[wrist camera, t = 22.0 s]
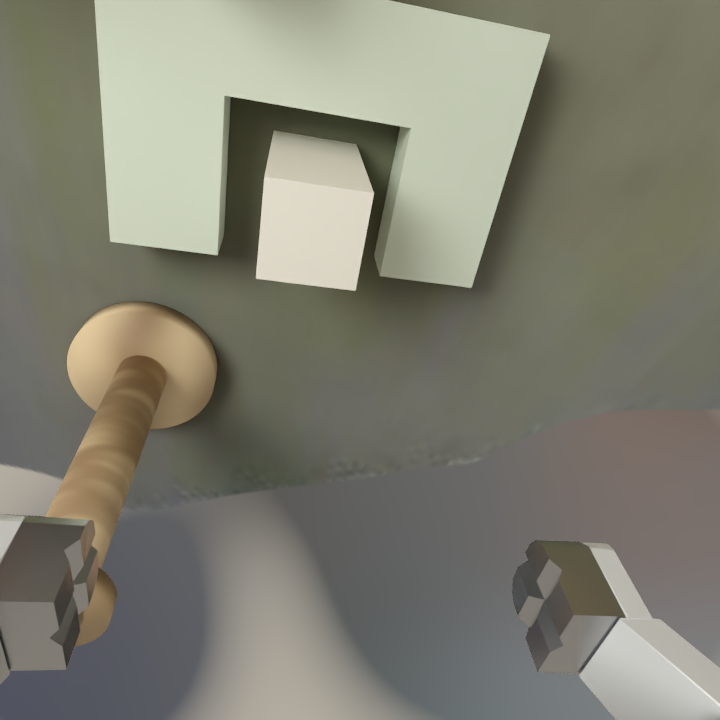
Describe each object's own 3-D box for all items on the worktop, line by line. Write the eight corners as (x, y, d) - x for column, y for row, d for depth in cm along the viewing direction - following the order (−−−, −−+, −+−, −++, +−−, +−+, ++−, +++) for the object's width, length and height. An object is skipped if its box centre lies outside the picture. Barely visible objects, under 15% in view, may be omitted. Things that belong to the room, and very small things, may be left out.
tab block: (356, 144, 31) (374, 193, 23) (343, 223, 33) (355, 290, 26) (273, 130, 30) (264, 176, 22) (266, 212, 32) (255, 278, 25)
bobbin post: (220, 310, 35) (160, 543, 20) (214, 420, 40) (163, 675, 25) (68, 293, 34) (-117, 531, 19) (81, 409, 39) (-59, 673, 24)
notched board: (528, 30, 28) (550, 34, 26) (459, 266, 35) (471, 287, 33) (111, -58, 25) (90, -64, 22) (125, 222, 32) (110, 241, 29)
